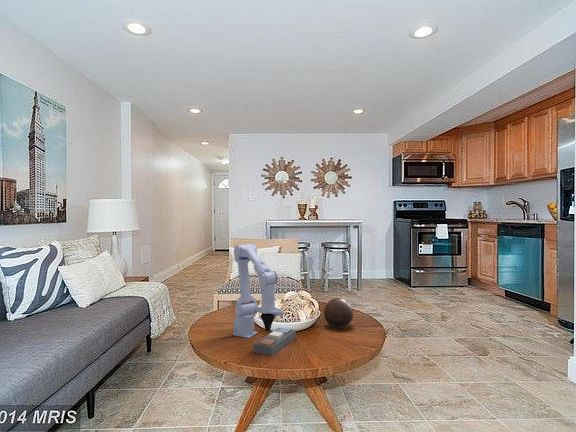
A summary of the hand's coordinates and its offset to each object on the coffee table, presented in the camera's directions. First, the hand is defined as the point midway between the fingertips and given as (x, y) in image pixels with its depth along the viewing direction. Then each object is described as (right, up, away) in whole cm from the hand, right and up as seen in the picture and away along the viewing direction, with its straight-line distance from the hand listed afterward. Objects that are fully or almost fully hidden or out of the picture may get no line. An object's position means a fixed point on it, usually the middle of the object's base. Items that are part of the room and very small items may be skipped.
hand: (268, 330), depth 150 cm
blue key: (+7, -7, +13) cm, 16 cm away
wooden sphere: (+35, -8, +29) cm, 46 cm away
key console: (+3, -8, +6) cm, 11 cm away
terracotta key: (0, -7, -1) cm, 7 cm away
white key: (+3, -6, +6) cm, 9 cm away
